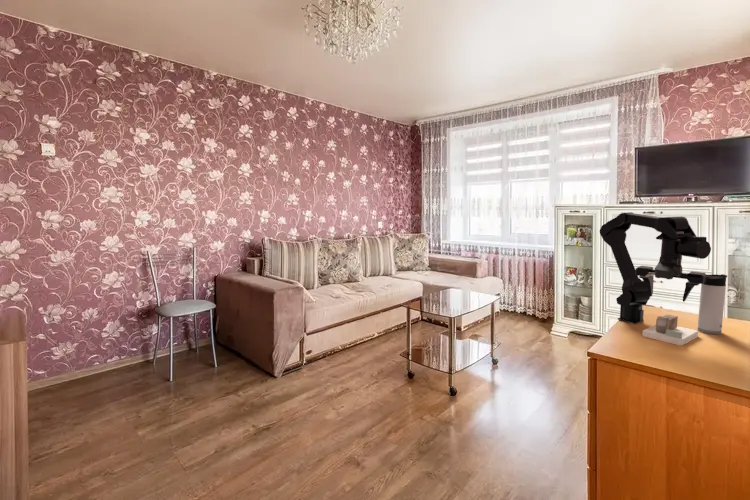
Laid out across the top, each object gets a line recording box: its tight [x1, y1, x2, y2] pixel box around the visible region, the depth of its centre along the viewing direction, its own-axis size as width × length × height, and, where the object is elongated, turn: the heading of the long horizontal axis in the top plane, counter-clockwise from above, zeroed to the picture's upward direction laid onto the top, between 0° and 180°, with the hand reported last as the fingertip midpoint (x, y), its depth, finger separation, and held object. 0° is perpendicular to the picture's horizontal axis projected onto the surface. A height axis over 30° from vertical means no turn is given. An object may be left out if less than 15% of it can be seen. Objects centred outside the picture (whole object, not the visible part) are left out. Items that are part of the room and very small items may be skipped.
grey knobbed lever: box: [655, 313, 679, 333], centre depth 129 cm, size 9×3×5 cm, turn 123°
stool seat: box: [641, 324, 699, 346], centre depth 129 cm, size 11×14×4 cm
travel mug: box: [697, 274, 728, 335], centre depth 131 cm, size 6×7×20 cm
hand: (667, 298), depth 131 cm, fingers open, 9 cm apart
